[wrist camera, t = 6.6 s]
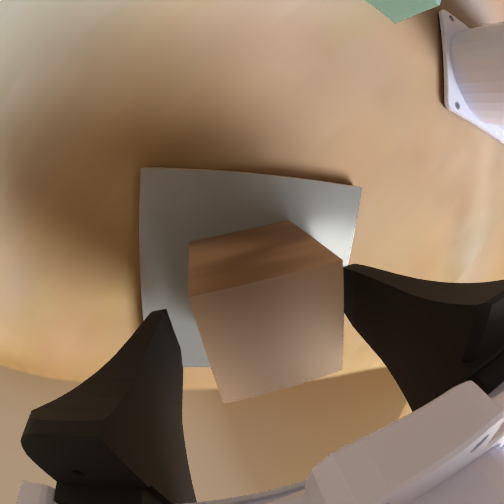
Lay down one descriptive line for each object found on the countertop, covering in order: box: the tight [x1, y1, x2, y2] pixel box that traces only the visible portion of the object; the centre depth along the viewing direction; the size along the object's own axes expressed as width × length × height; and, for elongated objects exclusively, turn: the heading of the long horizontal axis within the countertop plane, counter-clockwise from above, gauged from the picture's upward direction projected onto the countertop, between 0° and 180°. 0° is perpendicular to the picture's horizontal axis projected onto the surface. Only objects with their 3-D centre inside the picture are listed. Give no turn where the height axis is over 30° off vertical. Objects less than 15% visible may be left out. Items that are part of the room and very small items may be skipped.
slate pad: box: [139, 167, 362, 367], centre depth 14 cm, size 10×10×1 cm
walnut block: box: [188, 221, 344, 403], centre depth 11 cm, size 4×4×5 cm
